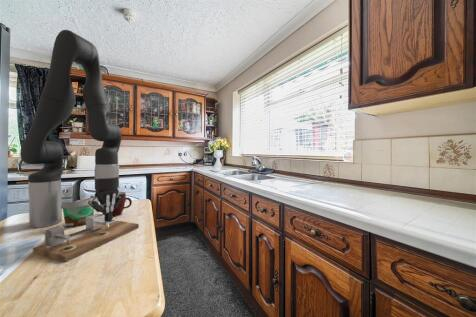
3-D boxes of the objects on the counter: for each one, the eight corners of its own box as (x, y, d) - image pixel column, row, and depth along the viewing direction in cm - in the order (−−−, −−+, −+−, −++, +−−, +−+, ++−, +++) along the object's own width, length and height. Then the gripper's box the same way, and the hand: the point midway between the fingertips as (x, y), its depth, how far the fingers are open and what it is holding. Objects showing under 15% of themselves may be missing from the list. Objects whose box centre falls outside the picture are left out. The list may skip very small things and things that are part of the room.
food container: (74, 230, 70) (73, 203, 70) (61, 228, 72) (60, 202, 71) (104, 219, 82) (103, 196, 82) (92, 217, 84) (91, 195, 83)
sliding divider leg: (85, 229, 66) (85, 217, 66) (97, 224, 70) (97, 213, 70) (102, 232, 64) (102, 220, 64) (114, 227, 67) (113, 216, 67)
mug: (129, 210, 95) (129, 190, 95) (133, 214, 89) (133, 193, 89) (103, 214, 88) (103, 193, 88) (106, 219, 82) (106, 196, 82)
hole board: (33, 252, 55) (32, 230, 55) (111, 223, 78) (111, 207, 77) (65, 262, 51) (65, 238, 50) (138, 227, 73) (138, 211, 73)
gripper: (115, 173, 79) (116, 215, 79) (80, 177, 66) (81, 226, 67) (129, 174, 76) (130, 217, 77) (96, 179, 64) (97, 229, 65)
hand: (107, 221), depth 72 cm, fingers closed
